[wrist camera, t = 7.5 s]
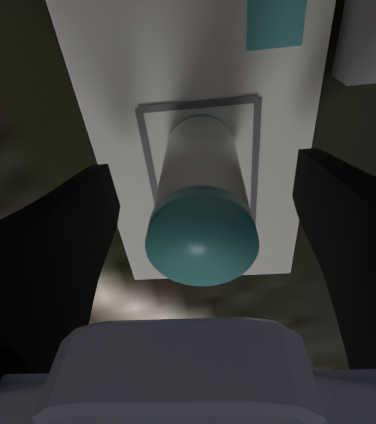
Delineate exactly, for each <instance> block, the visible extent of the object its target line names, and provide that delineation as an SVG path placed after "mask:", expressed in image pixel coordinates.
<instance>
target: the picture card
mask: <svg viewBox="0 0 376 424" xmlns="http://www.w3.org/2000/svg"><path fill="white" fill-rule="evenodd" d="M46 3H47V6H48V10H49V13H50V16H51V19H52V22H53V25H54V28H55V31H56V35H57V38H58V41H59V44H60V47H61V50H62V53H63V56H64V60H65V63H66V66H67V69H68V72H69V75H70V78H71V82H72V85H73V88H74V91H75V94H76V97H77V100H78V103H79V107H80V110H81V113H82V116H83V119H84V122H85V125H86V128H87V132H88V135H89V138H90V141H91V144H92V147H93V150H94V153H95V157H96V160H97V163H98V164H108V166H109V169H110V173H111V176H112V179H113V183H114V186H115V189H116V193H117V196H118V200H119V203H120V212H119V218H118V223H117V225H118V228H119V232H120V235H121V238H122V241H123V244H124V247H125V250H126V254H127V257H128V260H129V263H130V266H131V269H132V272H133V275H134V279H135V280H139V279H163V278H167V277H165V276H164V275H162V274H161V273H160V272H159V271H157V270H156V269H155V268H154V267H153V265H152V264H151V263H150V261H149V259H148V257H147V254H146V251H145V239H146V234H147V229H148V225H149V220H150V216H151V214H152V212H153V209H154V204H155V199H156V195H157V190H158V185H159V180H160V175H161V170H162V165H163V161H164V156H165V151H166V146H167V141H168V138H169V136H170V134H171V132H172V131H173V129H174V128H175V126H176V125H177V124H178V123H179V122H180V121H181V120H183V119H184V118H186V117H188V116H190V115H194V114H208V115H212V116H214V117H216V118H218V119H220V120H221V121H222V122H223V123H224V124H225V125H226V126H227V128H228V129H229V130H230V132H231V133H232V135H233V138H234V141H235V146H236V150H237V155H238V159H239V163H240V168H241V172H242V176H243V181H244V185H245V189H246V194H247V198H248V202H249V207H250V210H251V212H252V214H253V217H254V220H255V225H256V229H257V233H258V237H259V252H258V255H257V258H256V260H255V261H254V263H253V264H252V266H251V267H250V268H249V269H248V270H247V271H246V272H245V273H243V274H242V275H256V274H279V273H290V272H291V266H292V260H293V254H294V248H295V242H296V236H297V230H298V224H299V218H298V215H297V212H296V208H295V205H294V201H293V197H292V193H293V186H294V179H295V171H296V164H297V157H298V150H299V149H310V148H311V147H312V141H313V135H314V129H315V123H316V117H317V111H318V105H319V99H320V93H321V87H322V81H323V75H324V69H325V63H326V57H327V51H328V45H329V39H330V33H331V27H332V21H333V15H334V9H335V3H336V0H46Z"/></svg>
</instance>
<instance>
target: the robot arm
mask: <svg viewBox="0 0 376 424" xmlns="http://www.w3.org/2000/svg"><path fill="white" fill-rule="evenodd" d="M292 197H293V201H294V205H295V208H296V212H297V215H298V218H299V220H300V223H301V225H302V227H303V229H304V231H305V234H306V236H307V238H308V240H309V242H310V245H311V247H312V249H313V251H314V253H315V255H316V258H317V260H318V262H319V264H320V267H321V269H322V272H323V275H324V278H325V281H326V284H327V287H328V290H329V294H330V297H331V300H332V304H333V307H334V310H335V314H336V317H337V321H338V324H339V328H340V332H341V336H342V340H343V343H344V347H345V351H346V355H347V359H348V364H349V368H350V370H312V369H311V366H310V362H309V359H308V355H307V352H306V348H305V345H304V341H303V338H302V336H301V335H299V334H298V333H296V332H294V331H292V330H291V329H289V328H287V327H285V326H284V325H282V324H280V323H278V322H276V321H273V320H265V319H257V318H249V317H232V318H196V319H161V320H126V321H105V322H100V323H95V324H90V325H89V320H90V315H91V310H92V305H93V300H94V296H95V292H96V287H97V283H98V279H99V276H100V273H101V270H102V267H103V264H104V262H105V259H106V256H107V253H108V250H109V248H110V245H111V242H112V239H113V236H114V233H115V230H116V227H117V223H118V218H119V212H120V203H119V200H118V196H117V193H116V189H115V186H114V183H113V179H112V176H111V173H110V169H109V166H108V164H97V165H91V166H89V167H87V168H86V169H84V170H82V171H81V172H79V173H78V174H76V175H75V176H73V177H72V178H70V179H69V180H68V181H66V182H65V183H63V184H62V185H60V186H59V187H57V188H56V189H54V190H53V191H51V192H49V193H48V194H46V195H45V196H43V197H41V198H40V199H38V200H37V201H35V202H33V203H32V204H30V205H28V206H26V207H24V208H23V209H21V210H19V211H17V212H15V213H13V214H11V215H9V216H7V217H5V218H3V219H0V424H376V177H375V176H373V175H371V174H369V173H367V172H364V171H362V170H360V169H358V168H356V167H354V166H352V165H350V164H348V163H346V162H344V161H342V160H340V159H338V158H336V157H335V156H333V155H331V154H329V153H327V152H324V151H322V150H320V149H317V148H310V149H299V150H298V157H297V164H296V171H295V179H294V186H293V193H292Z"/></svg>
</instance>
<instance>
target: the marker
mask: <svg viewBox="0 0 376 424" xmlns="http://www.w3.org/2000/svg"><path fill="white" fill-rule="evenodd" d="M145 251H146V254H147V257H148V259H149V261H150V263H151V264H152V265H153V267H154V268H155V269H156V270H157V271H159V272H160V273H161V274H162V275H164V276H165V277H167V278H169V279H171V280H173V281H176V282H179V283H182V284H186V285H192V286H212V285H218V284H223V283H226V282H229V281H231V280H233V279H235V278H237V277H239V276H241V275H242V274H243V273H245V272H246V271H247V270H248V269H249V268H250V267H251V266H252V264H253V263H254V261H255V260H256V258H257V255H258V252H259V237H258V233H257V229H256V225H255V220H254V217H253V214H252V212H251V210H250V207H249V202H248V198H247V194H246V189H245V185H244V181H243V176H242V172H241V168H240V163H239V159H238V155H237V150H236V146H235V141H234V138H233V135H232V133H231V132H230V130H229V129H228V128H227V126H226V125H225V124H224V123H223V122H222V121H221V120H220V119H218V118H216V117H214V116H212V115H208V114H194V115H190V116H188V117H186V118H184V119H183V120H181V121H180V122H179V123H178V124H177V125H176V126H175V128H174V129H173V131H172V132H171V134H170V136H169V138H168V141H167V146H166V151H165V156H164V161H163V165H162V170H161V175H160V180H159V185H158V190H157V195H156V199H155V204H154V209H153V212H152V214H151V216H150V220H149V225H148V229H147V234H146V239H145Z"/></svg>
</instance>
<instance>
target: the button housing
mask: <svg viewBox="0 0 376 424" xmlns="http://www.w3.org/2000/svg"><path fill="white" fill-rule="evenodd" d="M331 75H332V76H333V77H335V78H336V79H338V80H339V81H341V82H342V83H343V84H345V85H346V86H351V85H362V84H373V83H376V0H345V3H344V8H343V14H342V19H341V25H340V30H339V36H338V41H337V47H336V52H335V58H334V63H333V69H332V74H331Z"/></svg>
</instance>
